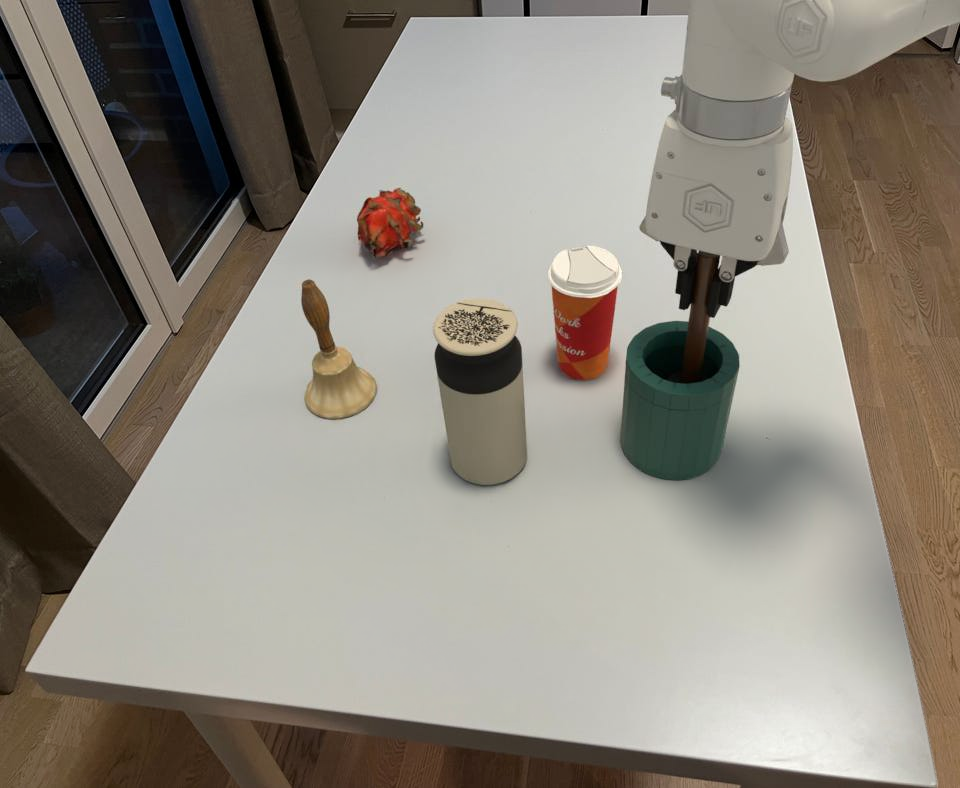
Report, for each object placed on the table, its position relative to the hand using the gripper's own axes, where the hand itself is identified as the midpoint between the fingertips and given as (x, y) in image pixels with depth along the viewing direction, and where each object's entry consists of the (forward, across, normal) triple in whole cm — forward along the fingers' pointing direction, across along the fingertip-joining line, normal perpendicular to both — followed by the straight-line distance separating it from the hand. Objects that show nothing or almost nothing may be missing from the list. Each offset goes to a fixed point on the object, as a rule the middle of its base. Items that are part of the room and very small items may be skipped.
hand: (701, 303), depth 70 cm
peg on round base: (+15, 0, 0) cm, 15 cm away
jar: (+18, -1, -1) cm, 18 cm away
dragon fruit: (+18, -48, +17) cm, 54 cm away
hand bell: (+18, -37, -10) cm, 42 cm away
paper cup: (+18, -14, +6) cm, 23 cm away
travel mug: (+18, -17, -11) cm, 27 cm away
